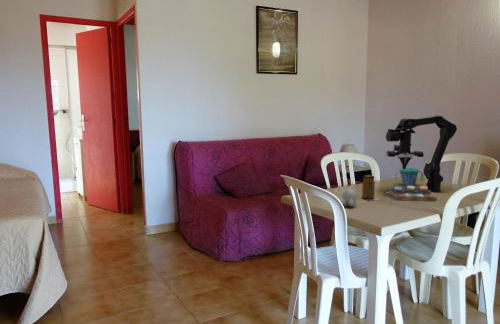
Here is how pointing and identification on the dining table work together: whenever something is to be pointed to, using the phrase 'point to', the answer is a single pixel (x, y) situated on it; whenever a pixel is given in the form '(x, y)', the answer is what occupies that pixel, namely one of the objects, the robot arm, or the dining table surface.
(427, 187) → the terracotta button
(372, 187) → the condiment
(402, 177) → the snack cup
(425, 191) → the console
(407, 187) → the sage button
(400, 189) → the slate blue button
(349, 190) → the round bodied animal figurine
